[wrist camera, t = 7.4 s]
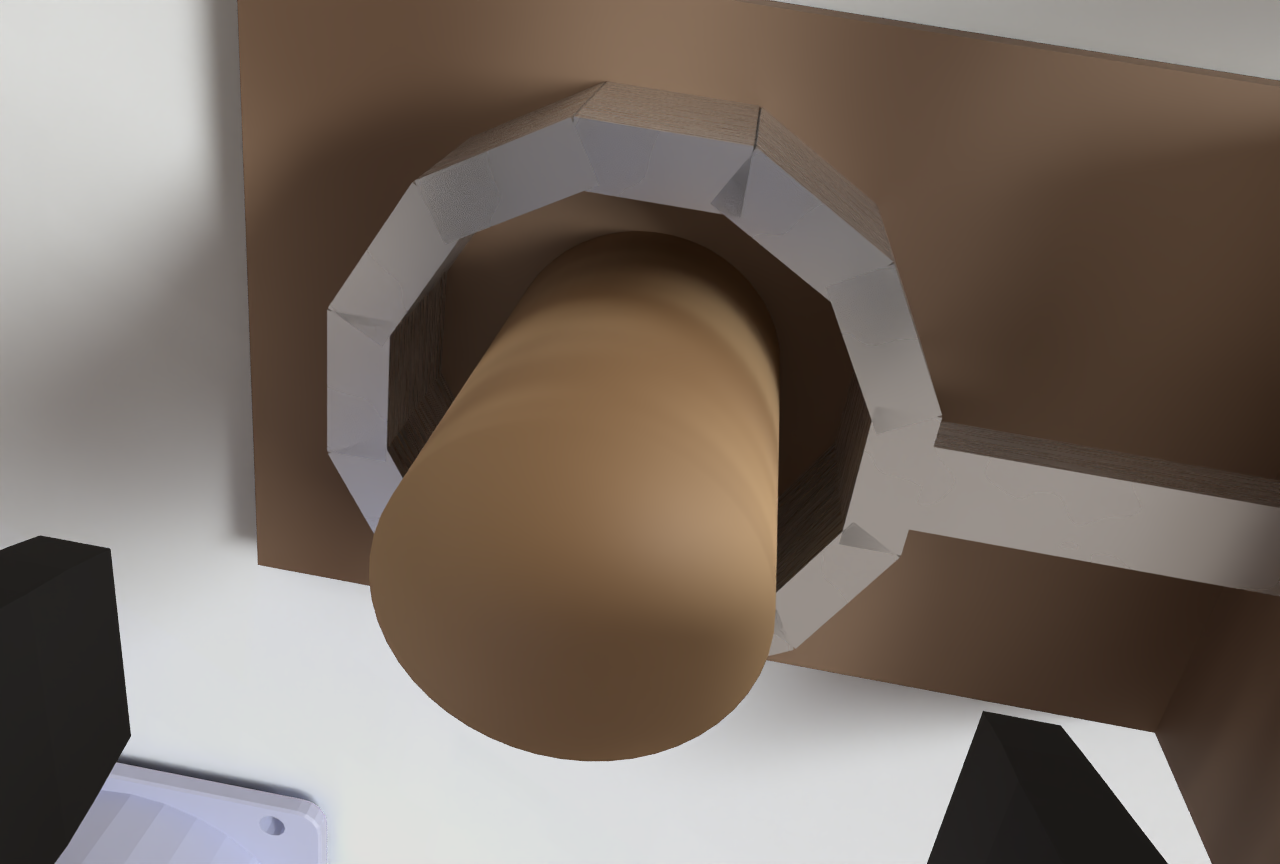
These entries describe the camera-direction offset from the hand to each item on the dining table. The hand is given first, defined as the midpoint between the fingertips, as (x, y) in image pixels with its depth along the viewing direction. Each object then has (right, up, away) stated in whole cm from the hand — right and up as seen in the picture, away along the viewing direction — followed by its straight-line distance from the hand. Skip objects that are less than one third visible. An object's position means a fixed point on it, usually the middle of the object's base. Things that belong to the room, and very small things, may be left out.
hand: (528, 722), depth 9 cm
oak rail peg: (+1, +3, +7) cm, 8 cm away
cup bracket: (+3, +4, +7) cm, 9 cm away
